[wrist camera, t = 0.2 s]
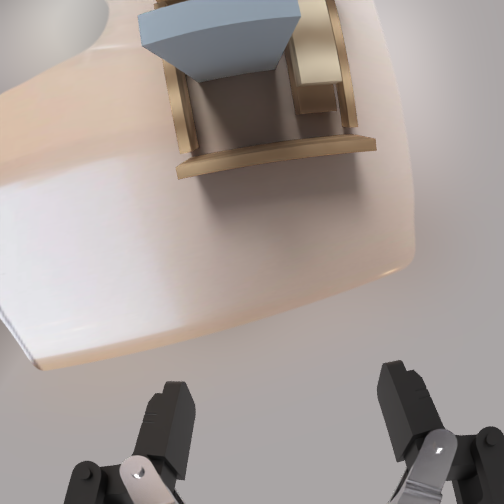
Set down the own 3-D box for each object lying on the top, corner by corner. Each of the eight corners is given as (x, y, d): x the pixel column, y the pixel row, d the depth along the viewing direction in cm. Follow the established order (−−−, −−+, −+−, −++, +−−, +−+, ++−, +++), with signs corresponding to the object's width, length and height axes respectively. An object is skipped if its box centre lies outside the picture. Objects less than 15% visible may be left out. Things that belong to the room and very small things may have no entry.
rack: (163, 3, 27) (143, -21, 20) (321, -20, 26) (336, -47, 18) (192, 166, 36) (178, 179, 29) (352, 143, 35) (376, 150, 27)
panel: (195, 66, 31) (137, 15, 13) (271, 52, 30) (293, -15, 12) (198, 82, 32) (141, 45, 14) (274, 69, 31) (301, 16, 13)
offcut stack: (275, 9, 28) (281, -14, 21) (308, 7, 28) (321, -16, 21) (295, 114, 34) (306, 113, 27) (328, 111, 33) (346, 110, 26)
